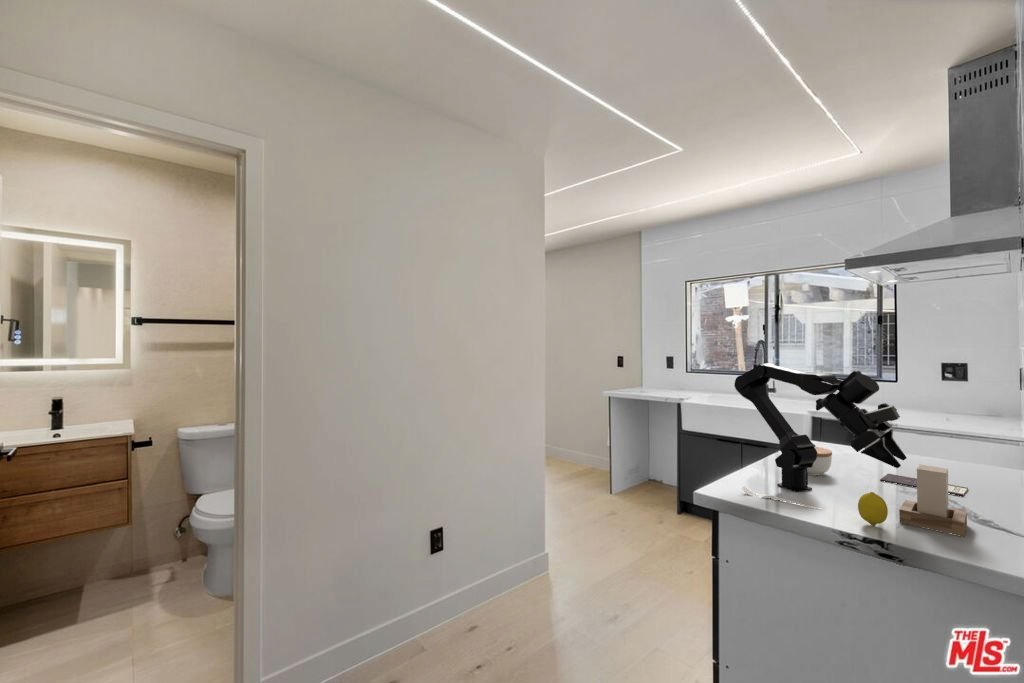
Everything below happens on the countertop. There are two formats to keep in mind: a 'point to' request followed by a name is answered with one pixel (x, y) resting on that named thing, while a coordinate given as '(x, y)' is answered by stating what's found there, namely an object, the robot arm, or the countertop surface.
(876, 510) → the lemon
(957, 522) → the tray
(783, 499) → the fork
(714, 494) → the countertop surface
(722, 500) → the countertop surface
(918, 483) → the clay bar
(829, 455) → the lidded jar
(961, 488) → the chocolate bar
